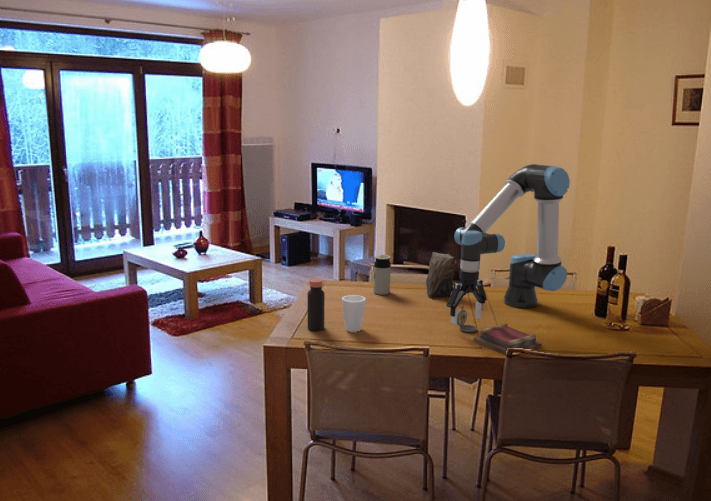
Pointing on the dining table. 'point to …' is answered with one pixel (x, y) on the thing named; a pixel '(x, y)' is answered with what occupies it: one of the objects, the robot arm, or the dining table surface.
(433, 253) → the grey rough lump
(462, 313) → the pocket watch
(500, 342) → the stand
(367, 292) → the dining table surface
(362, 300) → the foam cup
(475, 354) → the dining table surface
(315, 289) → the bottle
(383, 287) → the travel mug
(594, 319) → the dining table surface
